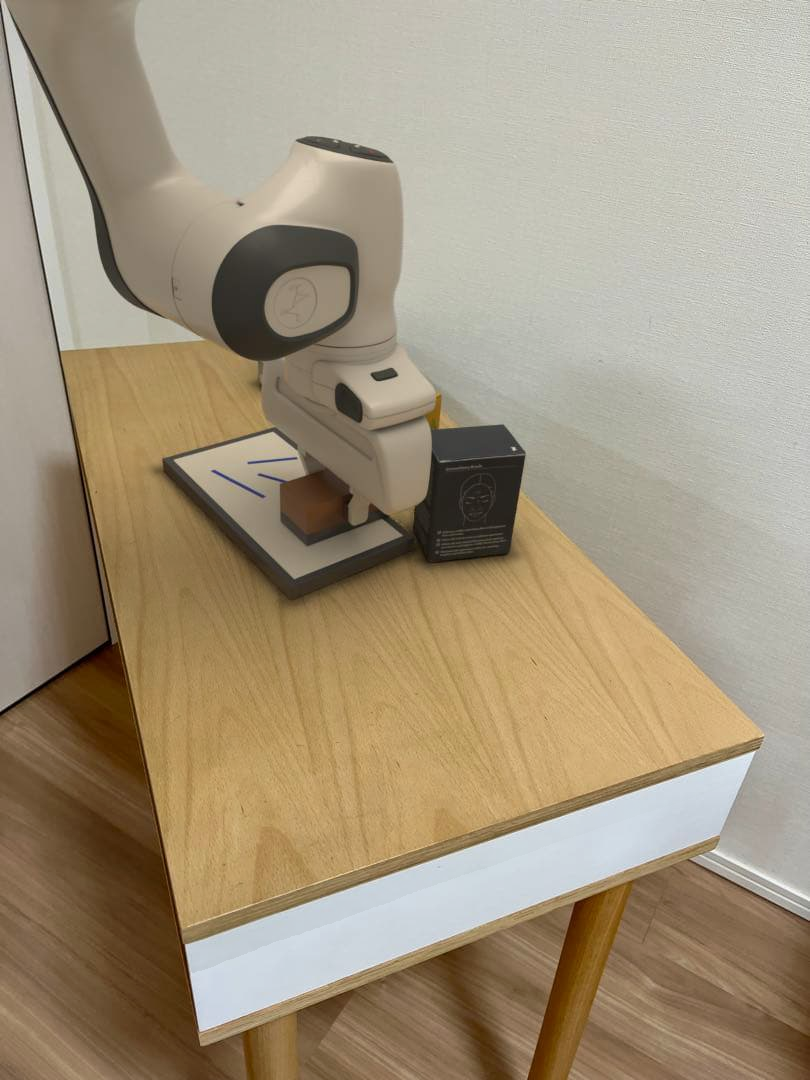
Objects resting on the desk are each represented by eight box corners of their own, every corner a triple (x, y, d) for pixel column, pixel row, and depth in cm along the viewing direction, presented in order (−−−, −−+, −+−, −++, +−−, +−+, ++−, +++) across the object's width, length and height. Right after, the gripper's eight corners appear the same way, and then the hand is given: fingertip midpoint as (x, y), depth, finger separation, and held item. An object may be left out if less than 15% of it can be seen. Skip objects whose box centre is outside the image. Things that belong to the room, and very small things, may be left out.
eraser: (306, 546, 71) (307, 508, 68) (280, 521, 73) (279, 483, 71) (390, 515, 75) (392, 478, 73) (361, 493, 78) (363, 456, 76)
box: (489, 520, 79) (505, 422, 72) (510, 555, 74) (528, 454, 68) (410, 527, 77) (420, 427, 70) (427, 564, 72) (439, 460, 66)
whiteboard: (291, 600, 67) (291, 586, 66) (163, 470, 82) (161, 457, 81) (414, 549, 74) (415, 536, 73) (276, 437, 89) (276, 426, 88)
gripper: (240, 323, 70) (247, 463, 78) (384, 421, 58) (374, 574, 66) (303, 311, 73) (303, 446, 81) (451, 400, 61) (434, 549, 69)
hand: (336, 504), depth 73 cm, fingers closed on eraser, 4 cm apart
